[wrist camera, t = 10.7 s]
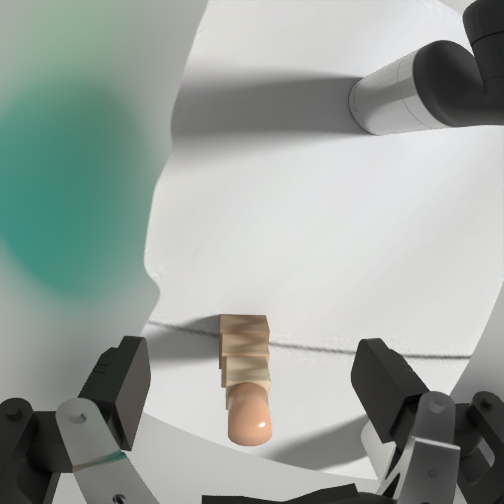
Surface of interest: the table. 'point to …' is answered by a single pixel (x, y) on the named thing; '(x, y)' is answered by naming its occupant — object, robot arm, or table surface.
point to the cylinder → (249, 415)
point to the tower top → (246, 372)
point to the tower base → (242, 327)
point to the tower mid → (242, 348)
